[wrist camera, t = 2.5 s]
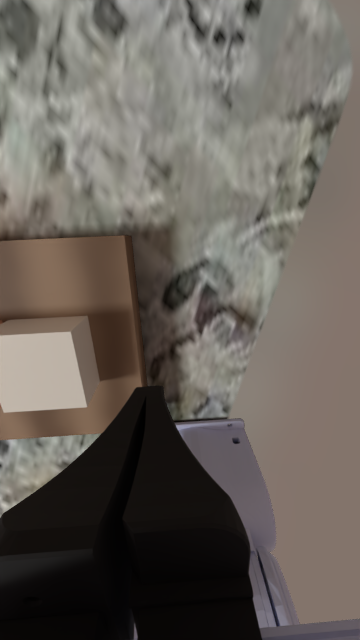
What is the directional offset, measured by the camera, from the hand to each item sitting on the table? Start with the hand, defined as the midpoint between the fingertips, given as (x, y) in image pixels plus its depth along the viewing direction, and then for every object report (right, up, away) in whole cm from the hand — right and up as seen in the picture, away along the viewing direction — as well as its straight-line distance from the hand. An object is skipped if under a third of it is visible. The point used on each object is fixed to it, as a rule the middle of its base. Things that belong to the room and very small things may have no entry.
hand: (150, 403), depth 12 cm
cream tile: (-8, +2, +6) cm, 10 cm away
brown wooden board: (-10, +3, +9) cm, 13 cm away
